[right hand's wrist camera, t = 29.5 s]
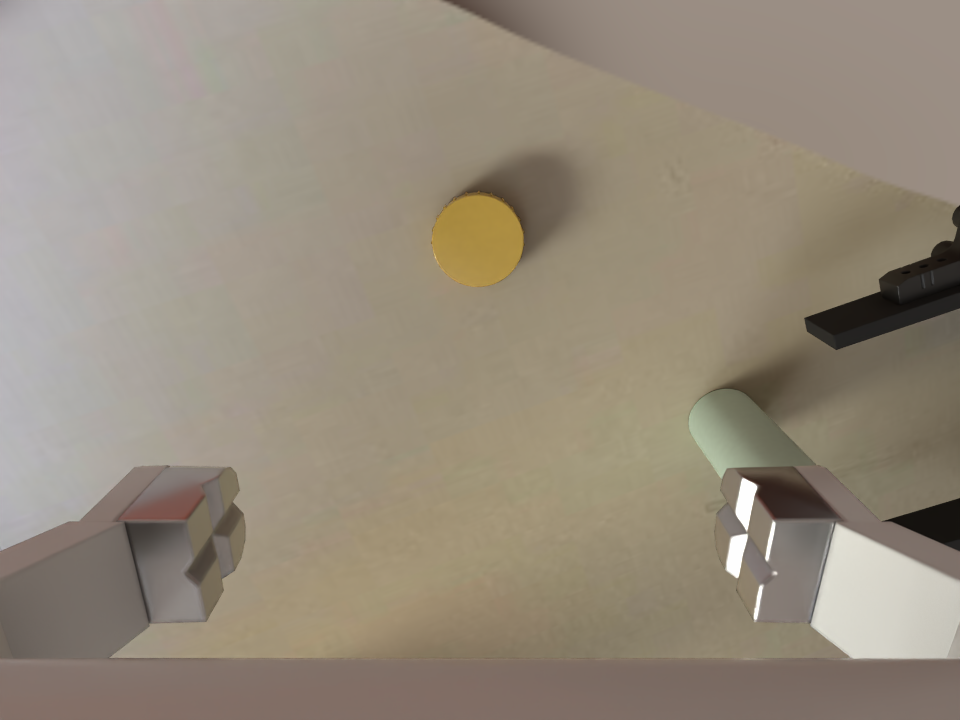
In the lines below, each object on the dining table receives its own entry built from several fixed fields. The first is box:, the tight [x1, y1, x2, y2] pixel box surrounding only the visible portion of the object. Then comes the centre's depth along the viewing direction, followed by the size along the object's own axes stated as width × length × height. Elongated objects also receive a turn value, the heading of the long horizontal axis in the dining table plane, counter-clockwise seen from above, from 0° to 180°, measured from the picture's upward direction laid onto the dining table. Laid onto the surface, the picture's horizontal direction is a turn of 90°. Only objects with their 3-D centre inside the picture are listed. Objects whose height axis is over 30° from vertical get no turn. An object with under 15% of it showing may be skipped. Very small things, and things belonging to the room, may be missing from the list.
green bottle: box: [689, 389, 816, 479], centre depth 32 cm, size 4×4×15 cm
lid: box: [431, 191, 525, 287], centre depth 34 cm, size 5×5×2 cm
